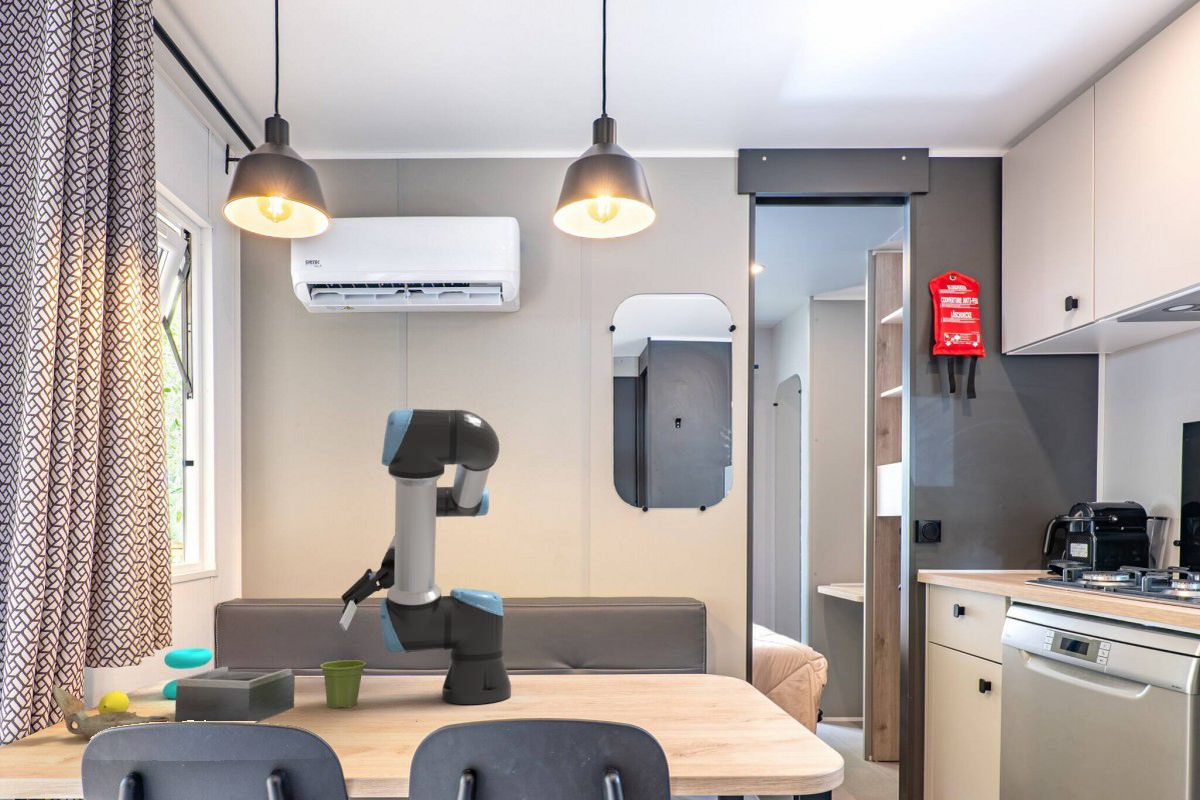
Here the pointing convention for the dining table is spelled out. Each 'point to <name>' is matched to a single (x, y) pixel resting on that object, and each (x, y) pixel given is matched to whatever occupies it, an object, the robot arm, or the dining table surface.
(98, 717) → the oil lamp
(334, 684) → the plant pot
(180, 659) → the donuts
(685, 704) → the dining table surface
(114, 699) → the lemon
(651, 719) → the dining table surface
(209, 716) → the gray open-top box
